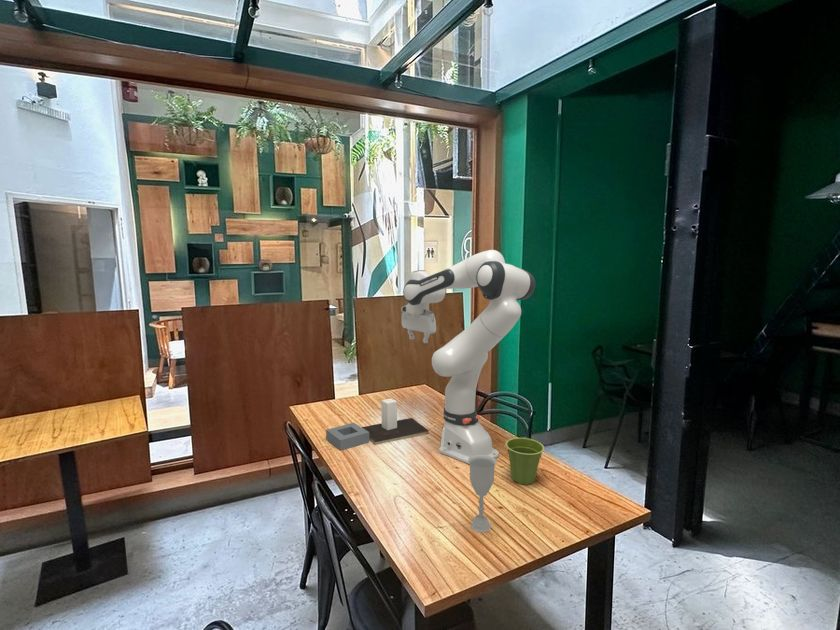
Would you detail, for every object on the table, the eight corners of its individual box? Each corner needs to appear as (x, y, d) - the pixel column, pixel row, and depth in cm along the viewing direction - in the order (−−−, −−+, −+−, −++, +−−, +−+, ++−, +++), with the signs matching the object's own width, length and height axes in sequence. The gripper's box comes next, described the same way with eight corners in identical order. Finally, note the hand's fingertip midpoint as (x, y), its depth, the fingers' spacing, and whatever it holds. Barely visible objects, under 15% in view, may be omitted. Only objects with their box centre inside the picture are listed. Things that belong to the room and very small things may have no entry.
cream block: (397, 427, 173) (396, 401, 172) (387, 430, 171) (387, 403, 169) (391, 424, 177) (390, 398, 175) (381, 426, 174) (381, 400, 173)
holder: (369, 442, 163) (369, 432, 162) (340, 450, 156) (340, 440, 155) (354, 432, 172) (353, 422, 172) (326, 439, 165) (326, 429, 165)
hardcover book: (429, 435, 171) (429, 430, 171) (374, 447, 160) (374, 441, 160) (411, 422, 185) (411, 417, 185) (360, 432, 174) (360, 426, 174)
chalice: (492, 518, 115) (493, 454, 113) (497, 534, 109) (499, 466, 106) (465, 518, 115) (466, 454, 113) (468, 534, 108) (469, 467, 106)
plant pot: (515, 491, 129) (516, 455, 127) (498, 472, 140) (499, 439, 138) (550, 486, 132) (552, 451, 130) (530, 468, 143) (531, 435, 142)
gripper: (440, 310, 175) (439, 344, 177) (410, 306, 191) (410, 336, 193) (427, 311, 171) (427, 346, 173) (398, 307, 188) (399, 338, 189)
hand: (418, 341), depth 183 cm, fingers open, 8 cm apart
